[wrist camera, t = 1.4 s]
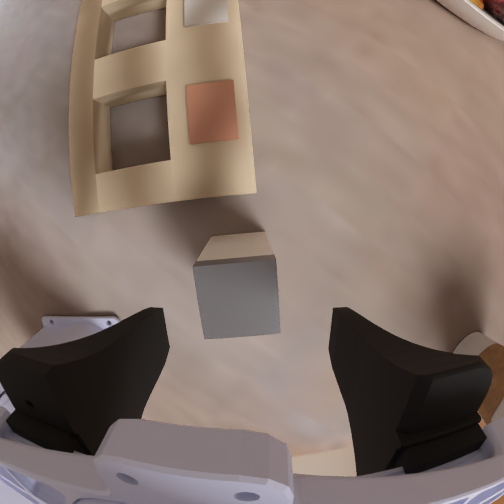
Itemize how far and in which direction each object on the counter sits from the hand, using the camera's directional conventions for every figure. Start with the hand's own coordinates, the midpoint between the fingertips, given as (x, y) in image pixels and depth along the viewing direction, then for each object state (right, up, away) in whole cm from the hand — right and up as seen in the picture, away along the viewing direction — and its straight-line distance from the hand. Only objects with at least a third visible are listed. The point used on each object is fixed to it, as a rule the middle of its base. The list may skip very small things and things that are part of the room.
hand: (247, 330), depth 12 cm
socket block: (-7, +17, +7) cm, 19 cm away
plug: (-1, +3, +10) cm, 11 cm away
